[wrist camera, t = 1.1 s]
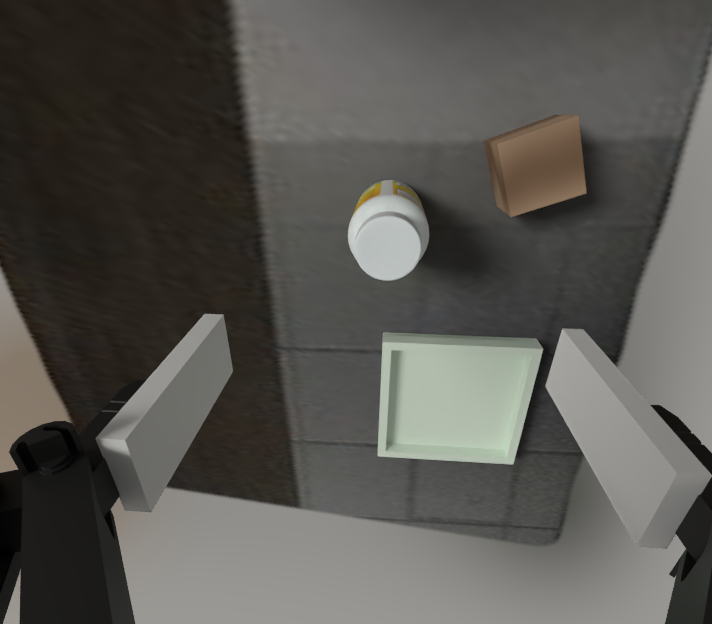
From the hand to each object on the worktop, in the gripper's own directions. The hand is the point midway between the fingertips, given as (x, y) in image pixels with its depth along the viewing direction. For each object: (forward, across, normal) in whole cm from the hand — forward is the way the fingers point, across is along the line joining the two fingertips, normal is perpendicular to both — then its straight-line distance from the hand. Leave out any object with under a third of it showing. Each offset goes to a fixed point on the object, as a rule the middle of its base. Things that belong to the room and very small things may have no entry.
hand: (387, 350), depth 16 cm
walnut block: (+19, +10, +5) cm, 22 cm away
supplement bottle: (+19, 0, +1) cm, 19 cm away
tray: (+18, +7, -17) cm, 26 cm away
